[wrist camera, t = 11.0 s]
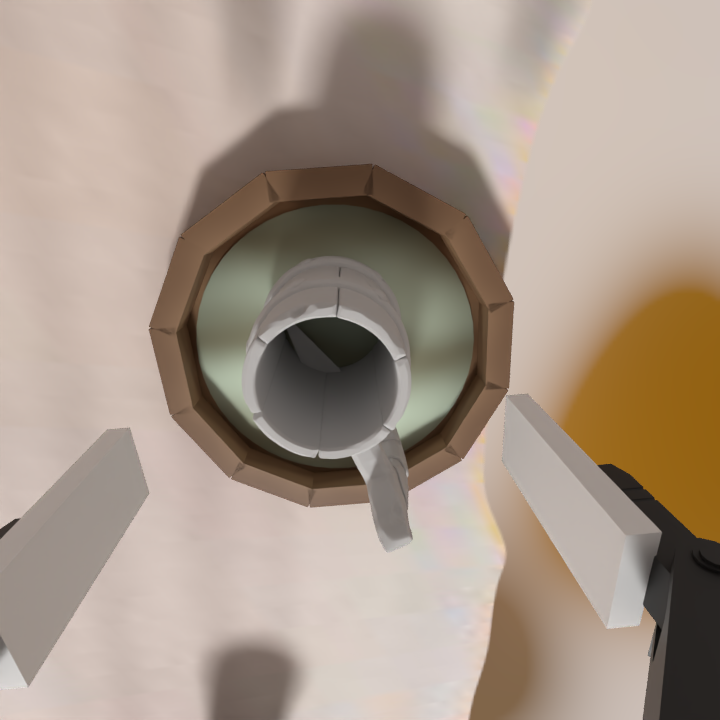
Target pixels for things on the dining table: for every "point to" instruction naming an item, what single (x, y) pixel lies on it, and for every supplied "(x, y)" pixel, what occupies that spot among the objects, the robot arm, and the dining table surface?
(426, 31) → the dining table surface
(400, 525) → the mug
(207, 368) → the tray
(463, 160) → the dining table surface
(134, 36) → the dining table surface
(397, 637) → the dining table surface
